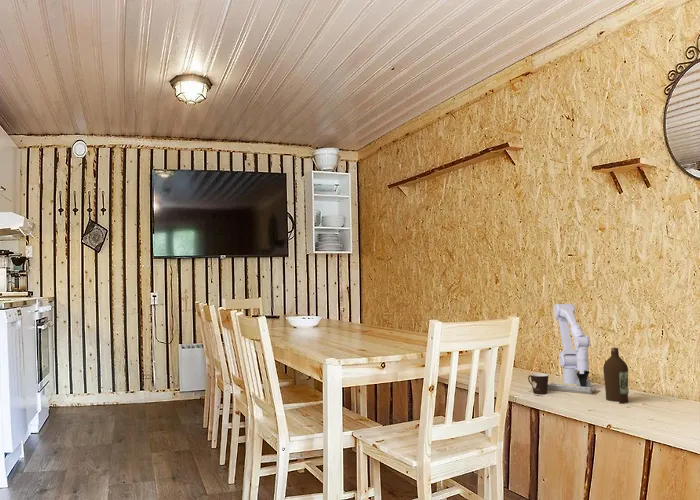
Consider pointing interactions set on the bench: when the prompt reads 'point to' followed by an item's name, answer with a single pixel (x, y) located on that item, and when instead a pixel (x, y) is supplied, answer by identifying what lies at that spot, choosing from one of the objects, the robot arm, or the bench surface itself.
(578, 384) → the block
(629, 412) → the bench surface
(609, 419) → the bench surface
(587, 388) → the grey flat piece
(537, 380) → the coffee mug
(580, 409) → the bench surface
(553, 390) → the board
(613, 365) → the olive oil
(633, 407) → the bench surface
